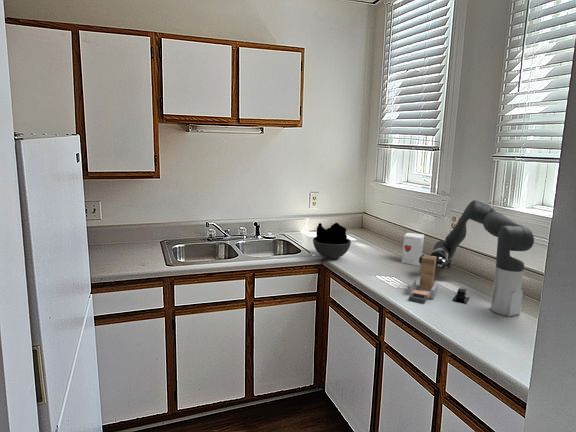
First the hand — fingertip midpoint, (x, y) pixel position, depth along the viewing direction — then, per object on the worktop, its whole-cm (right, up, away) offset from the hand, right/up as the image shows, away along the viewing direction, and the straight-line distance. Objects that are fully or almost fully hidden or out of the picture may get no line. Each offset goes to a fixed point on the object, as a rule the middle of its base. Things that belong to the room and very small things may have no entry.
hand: (432, 265), depth 192 cm
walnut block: (-5, -9, -7) cm, 13 cm away
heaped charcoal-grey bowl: (-43, 0, +33) cm, 54 cm away
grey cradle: (-9, -10, -15) cm, 20 cm away
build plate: (+5, -12, -19) cm, 23 cm away
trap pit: (-13, -11, -22) cm, 28 cm away
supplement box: (0, -2, +31) cm, 31 cm away
